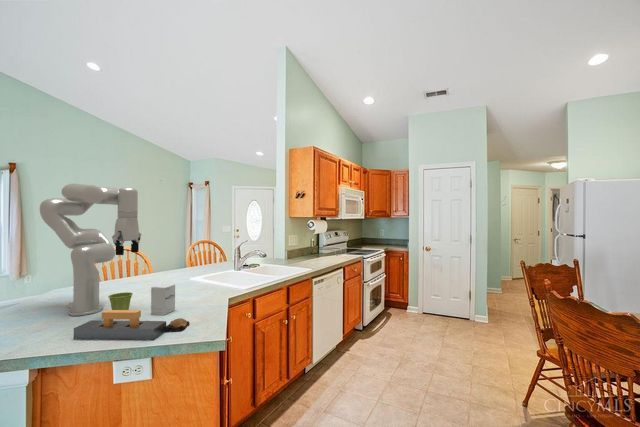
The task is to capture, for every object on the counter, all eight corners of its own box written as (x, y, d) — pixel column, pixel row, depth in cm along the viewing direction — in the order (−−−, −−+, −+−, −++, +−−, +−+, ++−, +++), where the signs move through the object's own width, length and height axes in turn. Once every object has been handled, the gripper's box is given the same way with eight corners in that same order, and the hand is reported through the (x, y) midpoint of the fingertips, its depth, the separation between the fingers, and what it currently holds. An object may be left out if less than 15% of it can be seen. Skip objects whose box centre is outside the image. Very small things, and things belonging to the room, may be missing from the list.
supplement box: (164, 315, 131) (164, 287, 131) (150, 314, 132) (150, 286, 132) (175, 310, 138) (175, 284, 138) (162, 309, 140) (162, 283, 140)
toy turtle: (170, 324, 121) (170, 315, 122) (191, 323, 123) (191, 314, 123) (161, 334, 111) (161, 325, 111) (184, 332, 113) (184, 323, 113)
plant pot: (111, 311, 136) (111, 293, 136) (134, 309, 140) (134, 291, 140) (105, 318, 128) (105, 298, 128) (130, 315, 131) (130, 296, 131)
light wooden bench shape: (101, 333, 108) (101, 312, 108) (107, 330, 111) (107, 310, 111) (135, 334, 108) (136, 312, 108) (140, 331, 111) (140, 310, 111)
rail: (73, 339, 106) (73, 328, 106) (91, 330, 114) (91, 320, 114) (153, 340, 105) (153, 329, 105) (166, 331, 113) (166, 321, 113)
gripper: (132, 215, 139) (132, 251, 139) (104, 215, 121) (104, 256, 121) (147, 215, 139) (147, 251, 138) (122, 215, 121) (121, 256, 121)
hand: (127, 253), depth 130 cm, fingers open, 9 cm apart
